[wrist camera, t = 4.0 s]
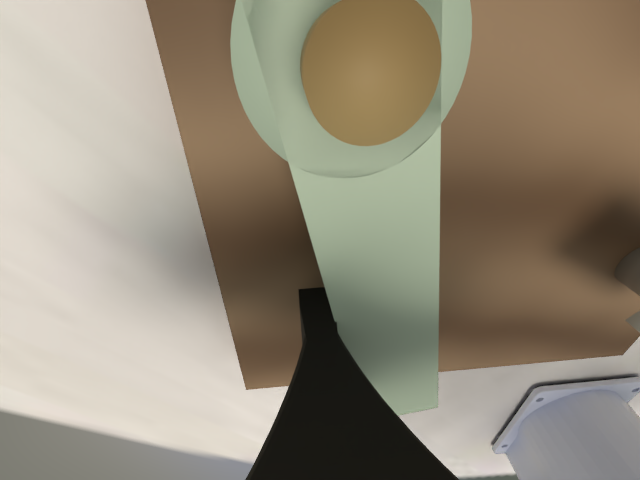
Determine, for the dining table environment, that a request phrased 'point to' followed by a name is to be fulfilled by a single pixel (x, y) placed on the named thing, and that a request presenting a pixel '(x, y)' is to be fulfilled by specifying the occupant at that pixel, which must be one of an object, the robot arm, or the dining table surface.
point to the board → (455, 171)
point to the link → (361, 194)
